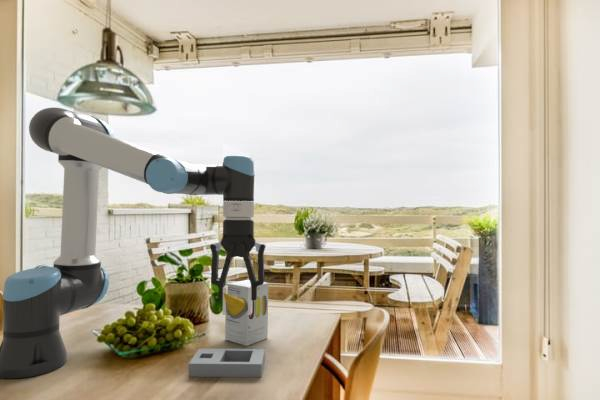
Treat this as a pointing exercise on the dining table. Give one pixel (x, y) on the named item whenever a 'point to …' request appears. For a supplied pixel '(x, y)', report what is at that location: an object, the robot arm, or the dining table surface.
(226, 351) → the bit holder block
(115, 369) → the dining table surface
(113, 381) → the dining table surface
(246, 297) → the supplement box
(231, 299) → the yellow grooved cone
